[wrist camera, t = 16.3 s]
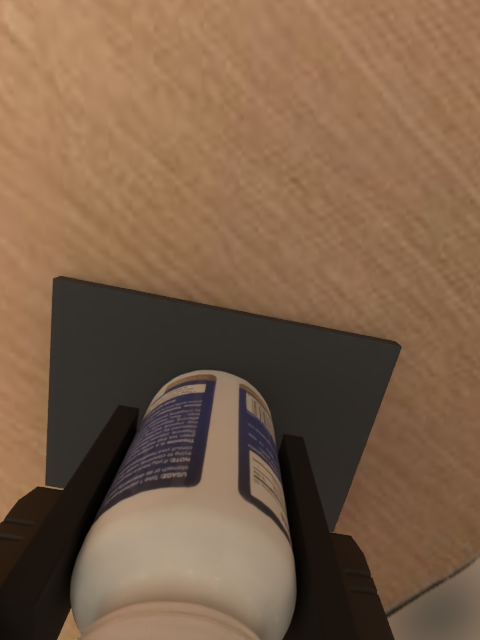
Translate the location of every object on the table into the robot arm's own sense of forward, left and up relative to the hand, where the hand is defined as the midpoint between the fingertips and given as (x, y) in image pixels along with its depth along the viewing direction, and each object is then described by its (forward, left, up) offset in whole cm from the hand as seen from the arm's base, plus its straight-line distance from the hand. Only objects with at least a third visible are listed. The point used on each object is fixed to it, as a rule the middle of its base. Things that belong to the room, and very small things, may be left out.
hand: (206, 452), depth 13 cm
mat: (0, 0, -3) cm, 3 cm away
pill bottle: (0, 0, -2) cm, 2 cm away
